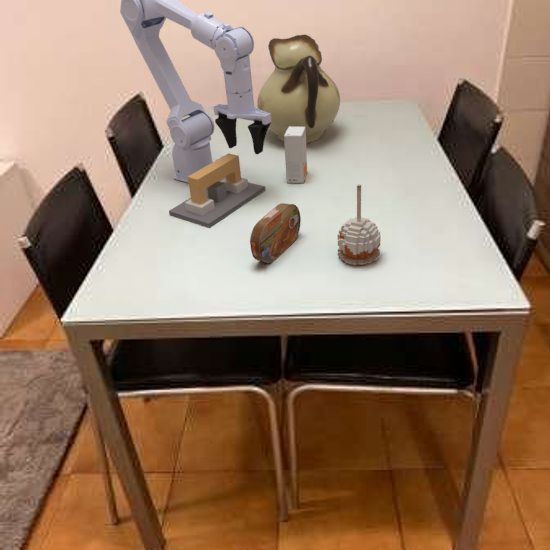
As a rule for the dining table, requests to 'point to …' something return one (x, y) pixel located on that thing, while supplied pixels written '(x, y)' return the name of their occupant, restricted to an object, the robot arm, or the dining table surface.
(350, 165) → the dining table surface
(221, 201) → the stand
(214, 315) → the dining table surface
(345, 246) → the caramel apple
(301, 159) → the skincare box
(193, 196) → the frame
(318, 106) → the beige sack vase
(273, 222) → the tin
